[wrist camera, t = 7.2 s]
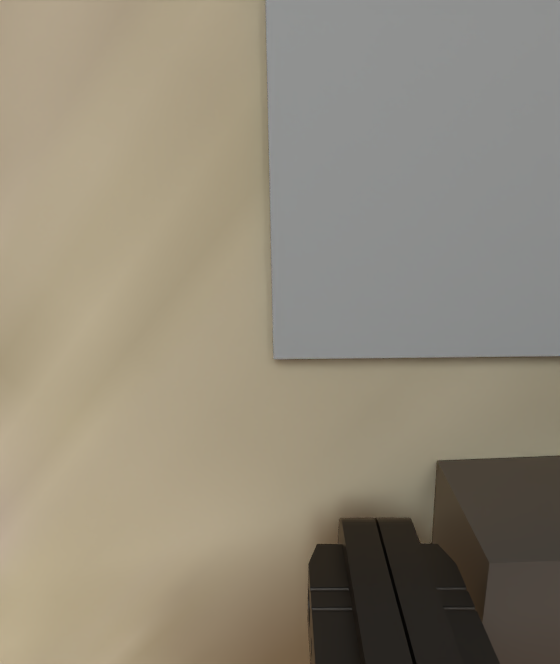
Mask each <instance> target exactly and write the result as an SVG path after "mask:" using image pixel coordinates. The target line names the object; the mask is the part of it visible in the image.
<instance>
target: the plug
mask: <svg viewBox="0 0 560 664" xmlns="http://www.w3.org/2000/svg"><path fill="white" fill-rule="evenodd" d="M432 544H438V545H439V546H440V547H441V548H442V549H443V550H444V551H445V552H446V553H447V554H448V555H449V556H450V557H451V559H452V560H453V561H454V562H455V563H456V564H457V567H458V569H459V571H460V573H461V576H462V578H463V580H464V583H465V585H466V590H467V591H468V592H469V594H470V596H471V599H472V601H473V603H474V605H475V611H477V612H478V615H479V617H480V619H481V621H482V624H483V626H484V628H485V631H486V633H487V635H488V637H489V640H490V642H491V644H492V647H493V649H494V651H495V653H496V656H497V658H498V660H499V663H500V664H560V456H548V457H523V458H498V459H473V460H449V461H437V475H436V490H435V506H434V521H433V536H432Z"/></svg>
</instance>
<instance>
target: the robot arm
mask: <svg viewBox="0 0 560 664" xmlns="http://www.w3.org/2000/svg"><path fill="white" fill-rule="evenodd" d="M308 634H309V651H310V664H500V663H499V660H498V658H497V656H496V653H495V651H494V649H493V647H492V644H491V642H490V640H489V637H488V635H487V633H486V631H485V628H484V626H483V624H482V621H481V619H480V617H479V615H478V612H477V611H475V605H474V603H473V601H472V599H471V596H470V594H469V592H468V591H467V590H466V585H465V583H464V580H463V578H462V576H461V573H460V571H459V569H458V567H457V564H456V563H455V562H454V561H453V560H452V559H451V557H450V556H449V555H448V554H447V553H446V552H445V551H444V550H443V549H442V548H441V547H440V546H439V545H438V544H420V542H419V539H418V536H417V534H416V531H415V528H414V525H413V523H412V521H411V519H410V518H375V519H374V518H340V519H339V529H338V544H317V546H316V548H315V550H314V553H313V555H312V557H311V559H310V562H309V567H308Z"/></svg>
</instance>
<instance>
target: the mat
mask: <svg viewBox="0 0 560 664" xmlns="http://www.w3.org/2000/svg"><path fill="white" fill-rule="evenodd" d="M266 43H267V87H268V132H269V176H270V221H271V266H272V310H273V355H274V359H339V358H429V357H519V356H560V0H266Z"/></svg>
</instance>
